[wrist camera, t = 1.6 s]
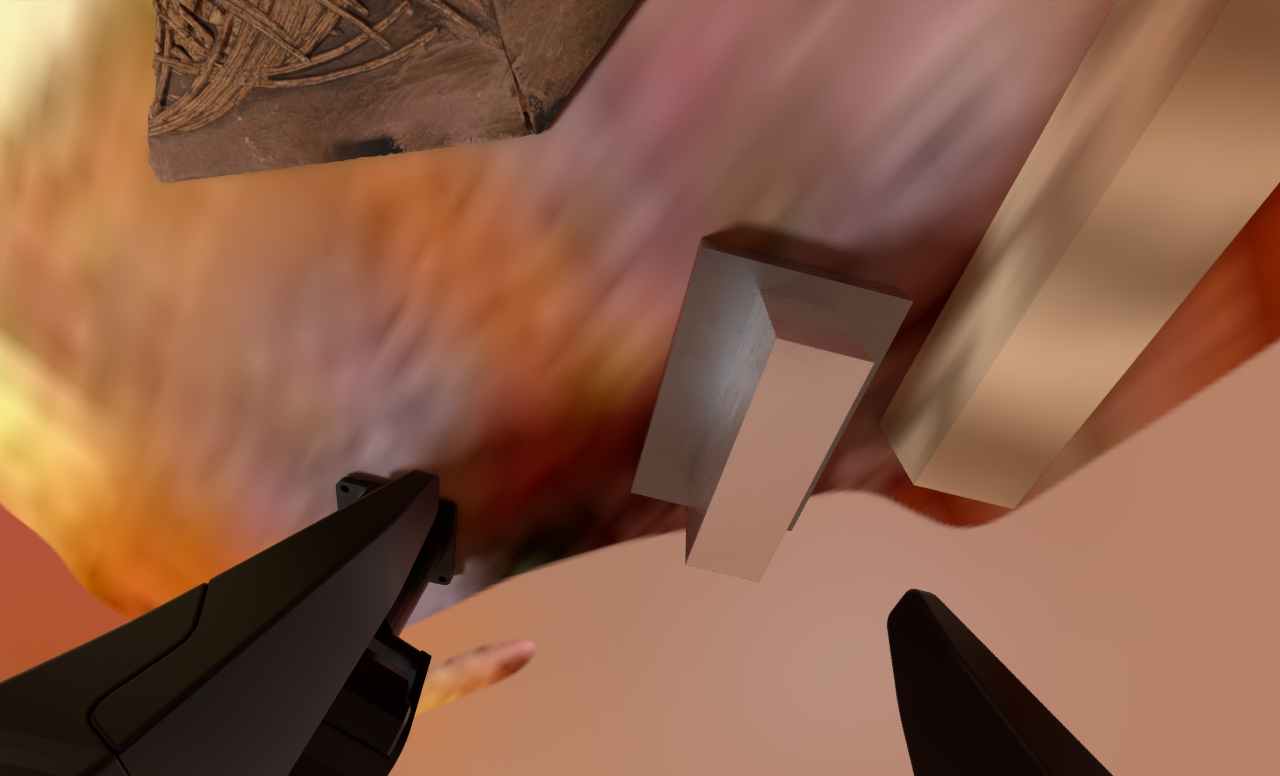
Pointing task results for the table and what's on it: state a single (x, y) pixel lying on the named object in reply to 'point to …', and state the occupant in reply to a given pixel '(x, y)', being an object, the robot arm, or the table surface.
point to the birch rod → (1095, 242)
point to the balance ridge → (758, 397)
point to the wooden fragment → (358, 77)
